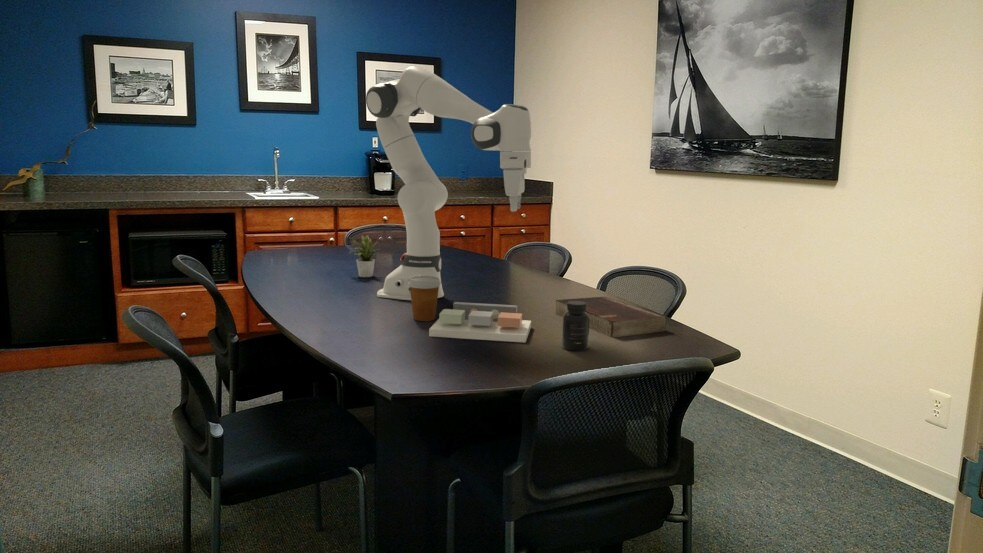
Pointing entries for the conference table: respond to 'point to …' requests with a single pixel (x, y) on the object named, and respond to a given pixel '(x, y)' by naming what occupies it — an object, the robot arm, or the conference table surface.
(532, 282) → the conference table surface
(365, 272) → the house plant
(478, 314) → the grey key
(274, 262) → the conference table surface
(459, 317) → the sage key
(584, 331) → the supplement bottle
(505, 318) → the terracotta key
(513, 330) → the keypad
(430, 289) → the disposable coffee cup
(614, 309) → the hardback book
